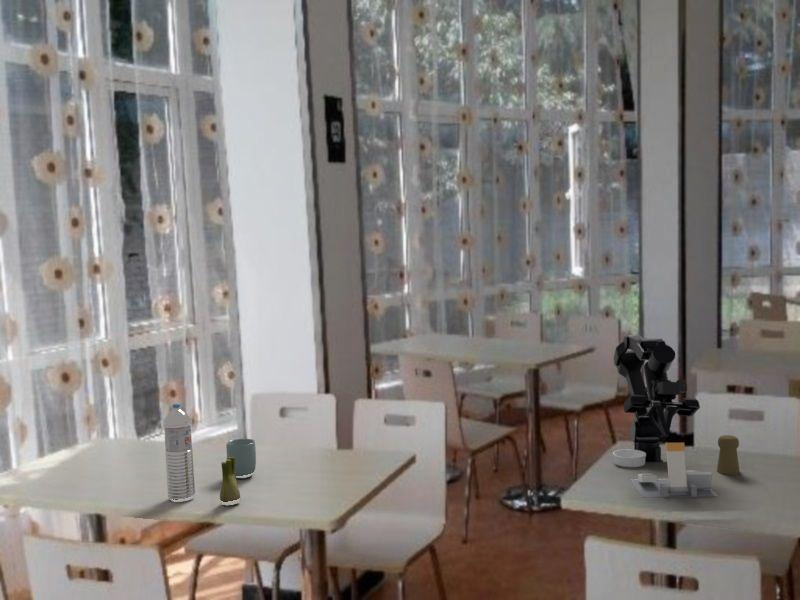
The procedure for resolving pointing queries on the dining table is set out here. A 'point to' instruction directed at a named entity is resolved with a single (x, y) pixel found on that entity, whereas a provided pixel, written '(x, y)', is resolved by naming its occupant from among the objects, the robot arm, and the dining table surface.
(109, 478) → the dining table surface
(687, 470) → the button
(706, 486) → the grey rectangular panel
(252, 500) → the dining table surface
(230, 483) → the fennel bulb
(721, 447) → the cork
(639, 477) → the rocker
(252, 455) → the cup
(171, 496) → the water bottle
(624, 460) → the ramekin
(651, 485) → the grey tray
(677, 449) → the lever
